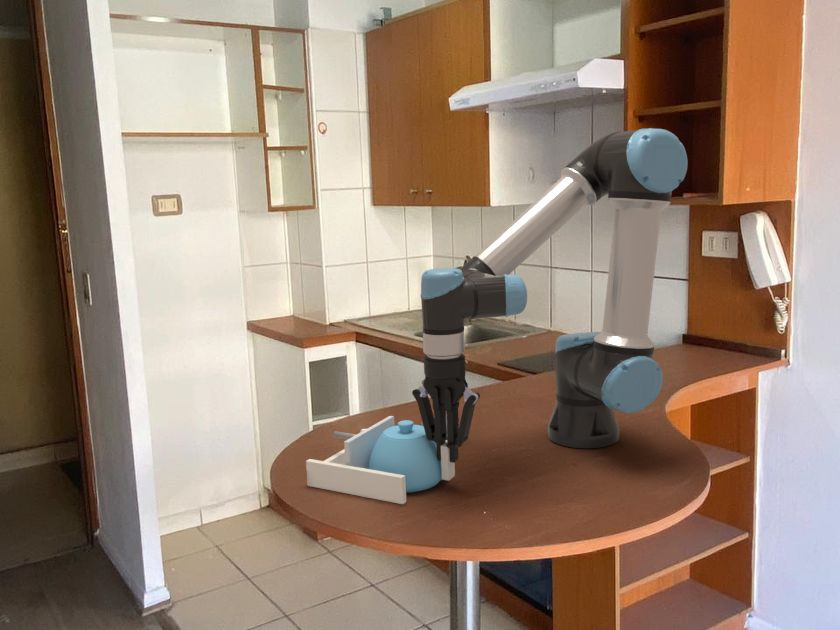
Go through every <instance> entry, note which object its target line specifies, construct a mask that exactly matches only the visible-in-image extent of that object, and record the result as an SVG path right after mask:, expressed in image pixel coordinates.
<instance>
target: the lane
mask: <svg viewBox="0 0 840 630" xmlns="http://www.w3.org/2000/svg"><path fill="white" fill-rule="evenodd" d="M366 429H367V428H362V429H360V432H362V431H364V430H366ZM446 442H447V440H446ZM305 468H306V469H305V470H306V481H307V482H306V483H307V487H312V488H318V489H322V490H327V491H332V492H337V493H343V494H349V495H354V496H358V497H363V498H368V499H374V500H379V501H384V502H388V503H395V504H399V505H405V504H406V502H407V493H406V481H405V475H400V474H394V473H388V472H382V471H377V470H371V469H365V468H359V467H354V466H348V465H345V449H344V448H343V449H342V450H340V451H338V452H336V453H335V454H332V455H331V456H330V457H328V458H326V459H325V460H319V459H312V458H309V459H307V460H305Z"/></svg>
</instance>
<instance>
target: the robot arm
mask: <svg viewBox="0 0 840 630" xmlns="http://www.w3.org/2000/svg"><path fill="white" fill-rule="evenodd" d="M687 171H688V155H687V152H686V148H685V146H684V144H683V143H682V142H681V141H680V140H679V137H678V136H676V134H674V133H672V132H671V131H669V130H667V129H663V128H652V127H649V128H644V127H643V128H640V129H634V130H628V131H627V130H625V131H616V132H610V133H608V134H605V135H603V136H601V137H599V138H598V139H596V140H595V141H594V142H592V143H591V144H590V145H589V146H588V147H585V149H584V150H582V151H581V152H580V153H579V154H577V156H576V157H575V158H573V159H572V160H571V161H570V162H569V163H568V164H567V165H566V166H564V168H562V169H561V171H560V178H559V179H558V180H557V181H556V182H555V183H553V184H552V185H551V186H550V187H549V188H548V189H546V191H544V192H543V193H542V194H541V195H540V196H539V197H538V198H537V199H536V200H535V201H533V202H532V203H531V204H530V205H529V206H528V207H527V208H526V209H525V210H523V211H522V212H521V213H520V214H519V215H518V216H517V217H516V218H515V219H514V220H512V222H510V223H509V224H507V226H506V227H505V228H504V229H503V230H502V231H500V232H499V233H498V234H497V235H496V236H495V237H494V238H493V239H491V240H490V242H488V243H487V244H486V245H485V246H484V247H483V248H482V249H480V251H478V252H477V253H476V254H475V255H474V256H473V257H471V258H470V259H469V260H468V261H467V262H465V263H464V264H463V265H462V266H455V267H445V268H444V267H440V268H439V267H437V268H430V269H427V270H425V271H424V272H423V273H422V274H421V278H420V279H421V282H420V298H421V299H420V300H421V302H420V303H421V318H422V348H423V349H422V350H423V351H422V352H423V354H424V356H423V370H424V371H423V373H424V376H425V377H424V380H423V383H422V385H421V386H419V387H417V388H415V389H413V390H412V392H411V395H412V396H413V397H414V399H415V400H416V402H417V406H418V410H419V414H420V416H421V422H423V426H424V430H425V434H426V437H427V439H428V440H432V441H434V442H435V443H436V445H437V459H438V460H439V461H441V470H442V479H441V481H443V480H444V481H450V480H451V479H453V478H454V477H456V470H455V469H456V467H455V465H456V464H455V463H456V462H458V460H459V458H460V457H459V445H462V444H464V443H465V442H466V441H467V440H468V439H469V436H470V435H469V434H470V429H471V425H472V420H473V416H474V412H475V411H474V410H475V408H476V407H475V406H476V404H477V402H478V401H479V400H480V398H481V394H480V392H477V391H476V392H474V391H472V390H471V389H470V388H469V385H468V382H467V380H466V356H465V354H464V352H465V350H466V349H465V344H466V343H465V321H466V320H468V321H469V320H477V319H489V318H499V317H505V318H507V317H509V316H515V315H520V314H522V313H523V312H524V311H525V308H526V306H527V302H528V291H527V286H526V283H525V280H524V279H523V278H522V277H521V276H520V275H518V274H511V273H513V272H514V271H515V270H516V269H518V267H519V266H521V264H522V263H523V262H525V261H526V260H527V259H528V258H529V257H530V256H531V255H532V254H533V253H534V252H536V251H537V250H538V249H539V248H540V247H542V245H544V243H546V242H547V241H548V240H549V239H550V238H552V237H553V235H554V234H556V233H557V231H559V230H560V229H561V228H562V227H564V226H565V224H566V223H568V221H570V220H571V219H572V218H573V217H575V216H576V215H577V214H578V213H579V212H580V211H581V210H582V209H583V208H584V207H585V206H593V205H595V204H596V203H598V201H599V200H601V199H602V198H604V197H605V196H607V200H608V202H609V203H610V204H611V206H613V208H614V214H613V215H614V217H613V224H612V225H613V226H612V234H611V245H610V255H609V264H608V265H609V266H608V273H607V282H606V284H607V285H606V293H605V301H604V303H605V304H604V311H603V320H602V330H601V331H589V332H585V331H584V332H574V333H567V334H562V335H560V336H558V338H557V339H556V341H555V348H554V355H555V404H554V407H553V410H552V413H551V416H550V420H549V422H548V426H547V438H548V440H550V441H551V442H552V443H555V444H557V445H561V446H564V447H568V448H569V447H570V448H575V449H601V448H606V447H609V446H612V445H614V444H616V443H617V442H618V441H619V439H620V428H619V424H618V421H617V418H616V415H615V412H614V411H618V412H621V413H626V414H634V413H638V412H641V411H643V410H644V409H646V408H648V407H649V406H650V404H652V403H653V402H654V401H655V400H656V399H657V397H658V396H659V394H660V392H661V389H662V387H663V379H664V378H663V377H664V375H663V371H662V369H661V368H660V367H659V364H658V362H657V361H656V360H654V351H655V343H654V342H653V341H652V339H651V338H650V337H649V336H648V332H649V323H650V314H651V306H652V299H653V297H652V296H653V290H654V289H653V288H654V279H655V269H656V261H657V252H658V245H659V244H658V242H659V233H660V225H661V224H660V223H661V215H662V212H663V211H664V210H665V209H666V208H668V206H669V205H670V204H671V200H672V192H673V191H674V190H675V189H677V188H678V187H679V186H680V184H681V183H682V182H683V181H684V180H685V177H686V174H687ZM463 396H464V397H463ZM429 397H430V398H429ZM462 398H463V401H464V404H463V408H462V412H461V417H460V418H459V419H458V417H459V407H460V401H461V399H462ZM430 399H431V400H430ZM431 401H432V403H431ZM446 414H447V431H446ZM447 439H448V441H447V442H446V440H447Z"/></svg>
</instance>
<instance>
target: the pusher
mask: <svg viewBox="0 0 840 630" xmlns="http://www.w3.org/2000/svg"><path fill="white" fill-rule="evenodd" d="M392 426H396V425H395V416H394V415H389V416H386V417H385V418H383V419H382V420H379V421H378V422H376V423H375V424H373V425H371V426H370V427H369V426H368V428H365V429H366V430H364V431H362V432H361V431H360V432H358V433H356V434H355V433H350V432H343V431H336V430H334V431H333V434H332V436H333V437H334V438H337V439H343V440H344V441H343V445H344V448H343V449H345V465H348V466H354V467H359V468H365V469H369V460H370V456H371V453H372V450H373V448H374V446H375V444H376V442H377V441H378V439H379V437H380V436H381V434H382V433H383V431H384V430H386V429H387V428H389V427H392Z"/></svg>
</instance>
